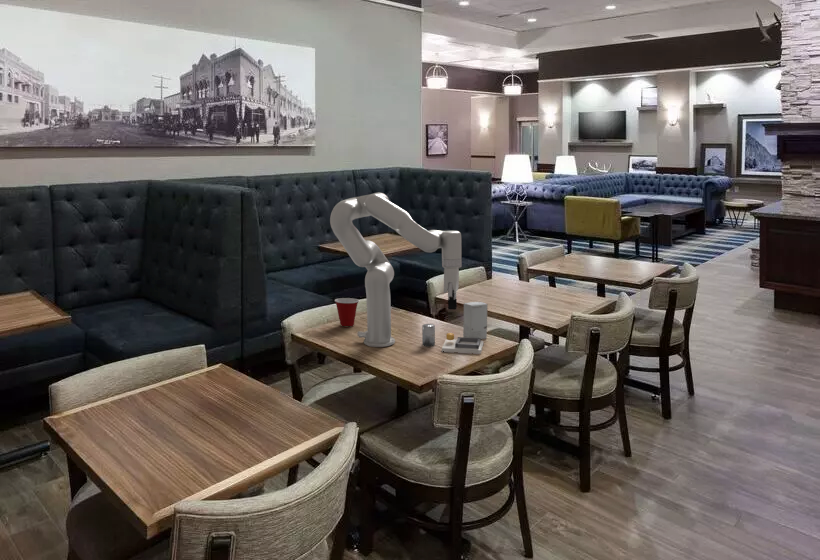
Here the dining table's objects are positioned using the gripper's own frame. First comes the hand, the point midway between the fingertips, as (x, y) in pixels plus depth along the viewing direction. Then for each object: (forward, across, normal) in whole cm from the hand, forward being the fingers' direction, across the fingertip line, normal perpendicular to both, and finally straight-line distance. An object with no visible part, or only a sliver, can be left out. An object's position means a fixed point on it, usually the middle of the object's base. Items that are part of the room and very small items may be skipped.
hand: (452, 308), depth 246 cm
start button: (+12, 0, -1) cm, 12 cm away
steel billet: (+15, 0, -10) cm, 18 cm away
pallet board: (+15, +2, +4) cm, 16 cm away
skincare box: (+16, -12, +8) cm, 21 cm away
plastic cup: (+14, -21, -50) cm, 56 cm away
